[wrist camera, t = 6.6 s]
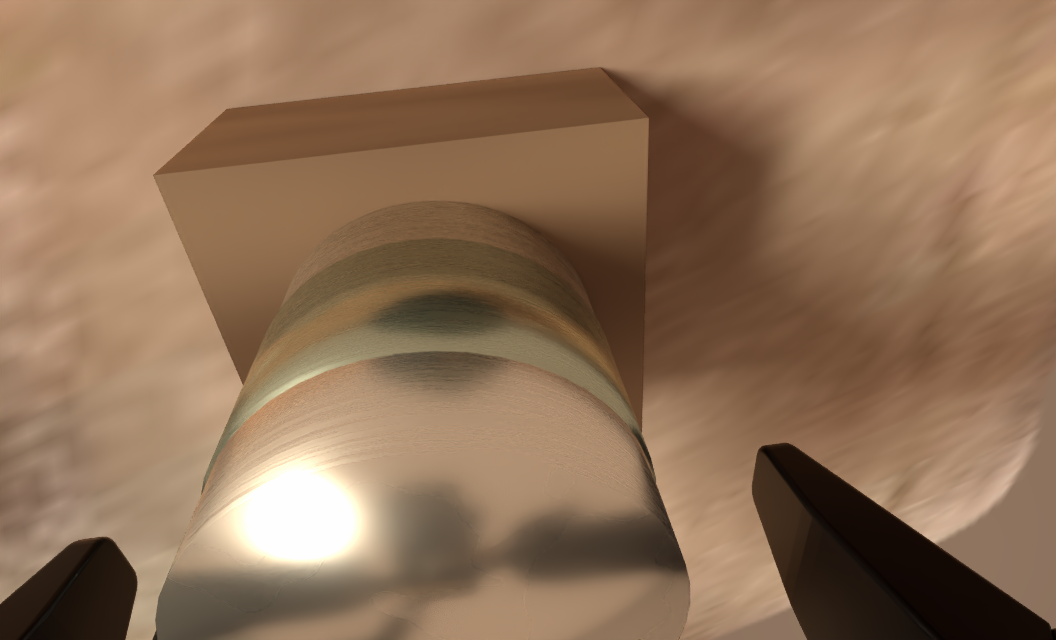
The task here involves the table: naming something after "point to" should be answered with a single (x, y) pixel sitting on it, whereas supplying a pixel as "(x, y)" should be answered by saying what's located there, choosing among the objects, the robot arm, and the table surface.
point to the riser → (419, 188)
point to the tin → (430, 455)
